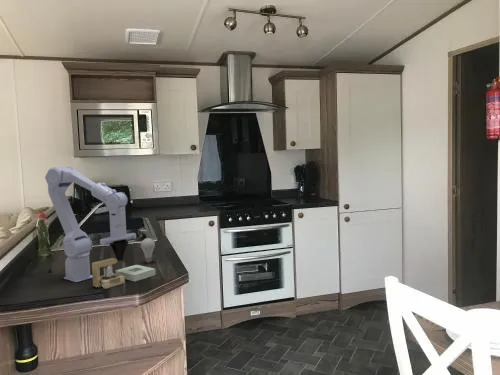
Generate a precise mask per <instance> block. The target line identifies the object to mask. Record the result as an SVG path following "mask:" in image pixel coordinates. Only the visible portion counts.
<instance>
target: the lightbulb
mask: <svg viewBox="0 0 500 375" xmlns="http://www.w3.org/2000/svg"><path fill="white" fill-rule="evenodd" d="M155 247H156V243H155V241H154V239H152V238H150V237H149V238H144V239H143V240H142V241H141V243H140V248H141V249H142V251H143V254H144V258H145V262H146V263H148V264H150V263H151V262H152V260H153V259H152V257H153V252H154V250H155Z"/></svg>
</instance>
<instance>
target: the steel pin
mask: <svg viewBox="0 0 500 375" xmlns="http://www.w3.org/2000/svg"><path fill="white" fill-rule="evenodd" d="M113 274H114V272H113V264H111V265H108V266H104V267H103V275H104V279H106V280H108V279H111V278H113Z"/></svg>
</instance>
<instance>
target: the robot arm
mask: <svg viewBox="0 0 500 375" xmlns="http://www.w3.org/2000/svg"><path fill="white" fill-rule="evenodd" d="M44 179H45V181H46V183H47V193H48V196H49V198H50V200H51V203H52V206H53V207H54V210H55V213H56V215H57V217H58V220H59V222H60V224H61V228H62V229H63V232H64V234H65V236H64V238H63V240H62V243H63V252H64V254H65V255H66V256H67V258H65V262H64V266H65V267H64V269H65V276H64V277H63V279H64V280H67V281H71V282H73V283H79V282H82V281H86V280H90V279H93V274H91V264H90V254H91V252H90V251H91V250H92V249H93V247H94V246H93V245H94V244H93V241H92V239H91V238H89V236H88V234H87V233H86V232H85V231H83V230H82V229H81V228H80V225H79V223H78V220H77V218H76V216H75V214H74V211H73V209H72V206H71V204H70V201H69V199H68V196H67V194H66V192H67V190H68V189H69V187H70V186H71V185H73V183H74V184H76V185H79V187H82V188H83V189H84V188H85V189H86V190H88V191H90V193H91V196H93V197H94V198H96V199H97V200H99V201H101V202H102V203H104V204H105V206H106V208H107V209H108V213H109V215H108V216H109V230H110V236H107V237H103V238H101V239H99V245H101V246H105V245H108V244H109V246H110V247H111V250H112V251H113V253H114V256H115V258H116V259H117V262H120V261H124V255H125V253H126V249H127V247H128V245H129V241H128V240H132V239H134V240H136V239H137V233H135V232H131V233H130V232H129V233H127V221H126V220H127V219H126V217H127V216H126V205H127V204H128V202H129V201H128V200H129V199H128V196H127V195H126V194H125V193H124V192H122V191H119V192H118V191H117V190H116V189H112V188H111V187H109V186H107V183H105V182H98V183H96V182H95V181H93V180H91V179H90V178H89V177H86V176H85V175H83V174H82V173H80V171H78V170H77V169H74V167H72V166H67V167H66V166H65V167H50V168H49V169H48V170H47V173H46V174H45V176H44Z"/></svg>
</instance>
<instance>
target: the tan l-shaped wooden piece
mask: <svg viewBox="0 0 500 375" xmlns="http://www.w3.org/2000/svg"><path fill="white" fill-rule="evenodd" d="M117 263H118V260H117V259H116V257H115V258H114V257H110V258H107V259H102V260H97V261H94V262H91V269H92V271H91V272H92V274H91V275H93V278H92V286H93V287H94V286H95V288H97V287H98V288H101V287H100V286H101V285H100V276H101V274H100V273H101V271H100V270H101V269H100V268H104V266H108V265H114V264H117Z"/></svg>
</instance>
